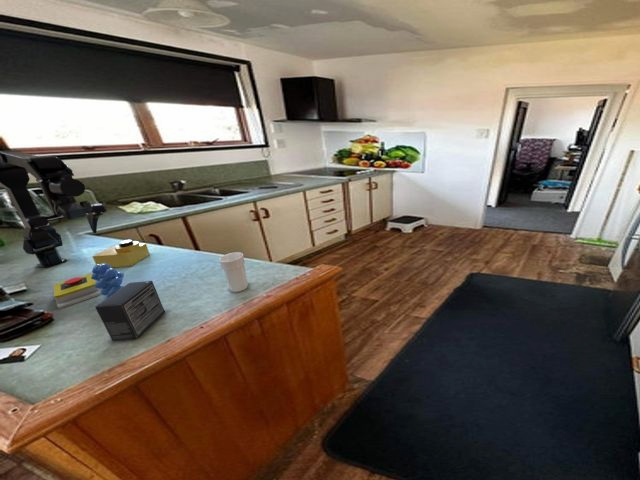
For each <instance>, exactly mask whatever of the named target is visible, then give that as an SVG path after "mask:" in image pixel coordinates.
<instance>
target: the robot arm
mask: <svg viewBox="0 0 640 480" xmlns="http://www.w3.org/2000/svg"><path fill="white" fill-rule="evenodd" d="M29 174H30V175H31V176H33V177H34V178H35V181H36V182H37V183H38V184H39V186H40V188H41V191H42V193H43V195H44V198H45V201H46V202H47V203H48V205H49V208H50V211H51V214H50V215H41V213H40V210H39V209H38V207H37V205H36V203H35V201H34V199H33V197H32V195H31V193H30V191H29V189H28V185H29V182H30V180H31V179H30V176H29ZM74 176H75V174H74V173H73V169H71V168H70V167H69V166H68V164H66V163H65V161H63V160H62V159H61V158H59V157H58V156H56V155H40V156H39V155H35V154H30V153H26V152H22V151H21V150H16V149H15V150H14V149H13V150H0V187H1V188H3V189H5V191H6V192H7V195H8V196H9V198H10V200H11V202H12V204H13V206H14V208H15V209H16V211H17V213H18V215H19V217H20V219H21V222H22V224H23V226H24V230H23V232H22V237H23V239H24V240H23V241H22V242H23V243H22V244H23V245H22V246H23V247H22V249H23V251H24V252H25V254H27V255H32V256H33V255H35V257H36V259H37V260H38V263H37V264H36V267H40V268H43V269H46V268H49V267H52V266H56V265H58V264H61V263H65V262H67V261H68V259H67V258H63V257H62V256H61V254H60V252H59V249H58V247H63V246H64V245H63V244H64V243H63V240H62V235H61V234H60V233H58V231H57V230H56V228H54V227H53V225H52V224H49V223H50V222H53V221H58V220H62V219H66V220H70V221H71V220H75V219H78V218H84V217H85V218H86V219H87V222H88V224H89V228H90V229H91V231H92V233H93V234H97V232H98V231H97V229H98V221H99V218H100V217H101V216H103V215H104V213H106V212H108V209H107V207H106V205H105V204H102V203H97V202H96V203H95V202H94V203H91V202H90V201H89V200H82V201H79V202H78V201H77V200H76V197H80V196H82V195H83V194H84V193H85V192H86V186H85V184H84V183H83V182H82V181H80V180H78V179H75V178H73V177H74Z"/></svg>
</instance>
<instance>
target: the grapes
mask: <svg viewBox="0 0 640 480" xmlns="http://www.w3.org/2000/svg"><path fill="white" fill-rule="evenodd" d="M91 274H92V276H91V279H94V280H97V282H96V284H95V287H96V288H99V289H100V291H101V294H100V295H102V296H106V297H107V298H108V297H110V296H111V295H113V294H114V293H116V292H117V291H118V290H120V289H121V288H123V287H124V285H122V284H123V281H124V276H125V273H123V272H120V271H119V270H118V269H115V268H112V267H111V265H108V264H100V265H96V264H95V265H94V266H93V268H92V270H91Z"/></svg>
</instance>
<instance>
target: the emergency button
mask: <svg viewBox="0 0 640 480" xmlns="http://www.w3.org/2000/svg"><path fill="white" fill-rule="evenodd" d="M92 274H93V273H87V274H85V275H81V276H80V275H79V276H77V277H76V276H75V277H72V278H70V279H67V280H63V281H60V282H57V283H55V284H53V296H54V299H55V302H56V307H57V308H58V309H63V308H66V307H68V306H72V305H74V304H77V303H80V302H83V301H86V300H89V299H92V298H96V297H97V296H100V295H102V294H101V291H102V290H101V289H99V288H96V287H95V284H96V282H97V281H98V280H94V279H91V276H92Z"/></svg>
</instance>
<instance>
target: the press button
mask: <svg viewBox="0 0 640 480" xmlns="http://www.w3.org/2000/svg"><path fill="white" fill-rule="evenodd" d="M133 241H134V240H133V239H125V240H122V241H120V242H118V245H120V247H127V246H130V245H133V244H134V243H133Z"/></svg>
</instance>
